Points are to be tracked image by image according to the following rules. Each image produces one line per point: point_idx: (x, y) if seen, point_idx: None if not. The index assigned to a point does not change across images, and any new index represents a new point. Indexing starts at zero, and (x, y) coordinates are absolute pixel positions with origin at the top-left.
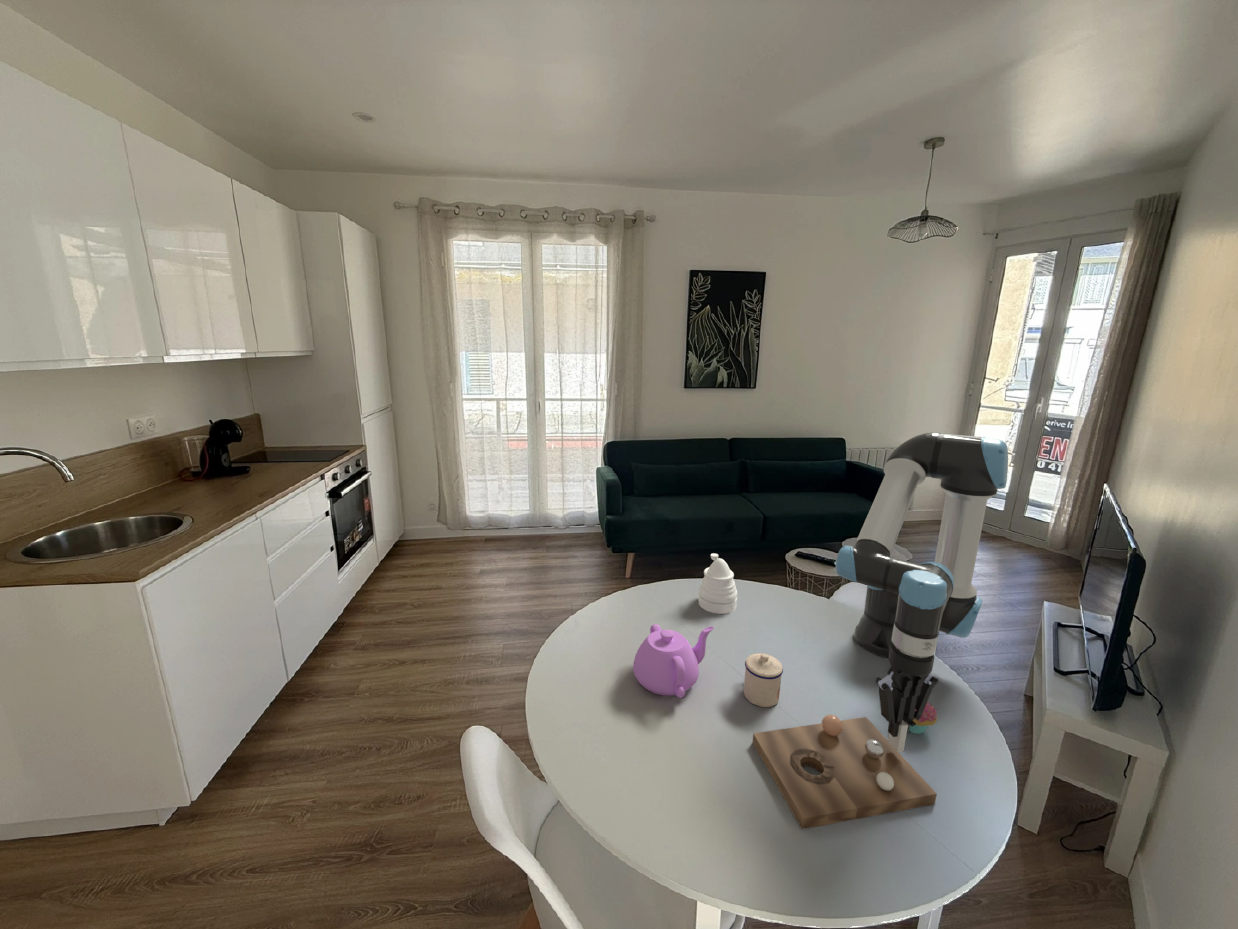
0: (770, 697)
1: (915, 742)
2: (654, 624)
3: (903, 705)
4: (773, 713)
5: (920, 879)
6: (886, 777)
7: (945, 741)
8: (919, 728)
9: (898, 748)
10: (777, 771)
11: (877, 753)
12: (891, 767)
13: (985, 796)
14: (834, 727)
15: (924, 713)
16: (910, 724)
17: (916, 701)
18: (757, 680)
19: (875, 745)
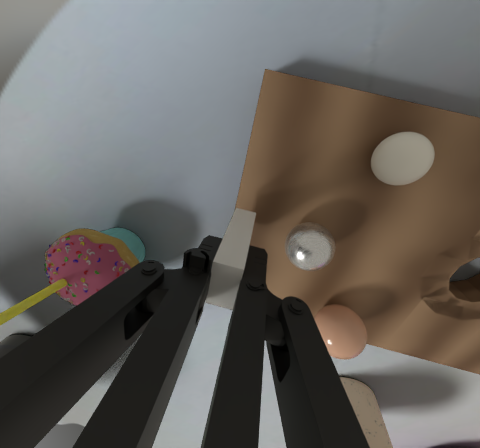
0: (361, 404)
1: (152, 219)
2: None
3: (229, 391)
4: (358, 368)
5: None
6: (424, 157)
7: (86, 193)
8: (121, 236)
9: (253, 218)
10: None
11: (326, 233)
12: (298, 191)
13: (112, 35)
14: (360, 331)
15: (85, 259)
16: (211, 260)
17: (101, 352)
18: None
19: (322, 252)
